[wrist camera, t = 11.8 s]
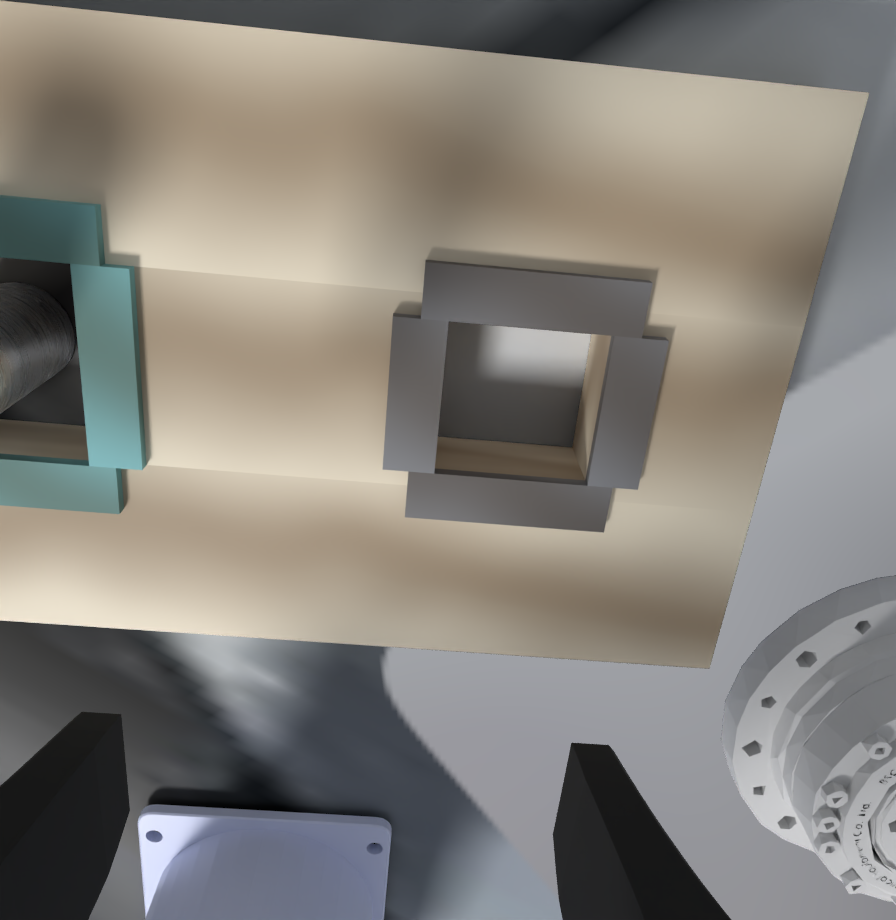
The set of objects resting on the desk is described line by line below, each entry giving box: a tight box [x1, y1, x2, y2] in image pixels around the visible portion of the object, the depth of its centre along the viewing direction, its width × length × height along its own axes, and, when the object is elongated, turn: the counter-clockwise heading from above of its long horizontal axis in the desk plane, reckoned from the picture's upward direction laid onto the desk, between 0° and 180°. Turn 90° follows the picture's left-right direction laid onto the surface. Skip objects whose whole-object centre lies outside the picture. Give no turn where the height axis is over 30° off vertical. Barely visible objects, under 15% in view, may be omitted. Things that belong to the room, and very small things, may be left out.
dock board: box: [0, 0, 869, 669], centre depth 19 cm, size 14×24×2 cm, turn 85°
